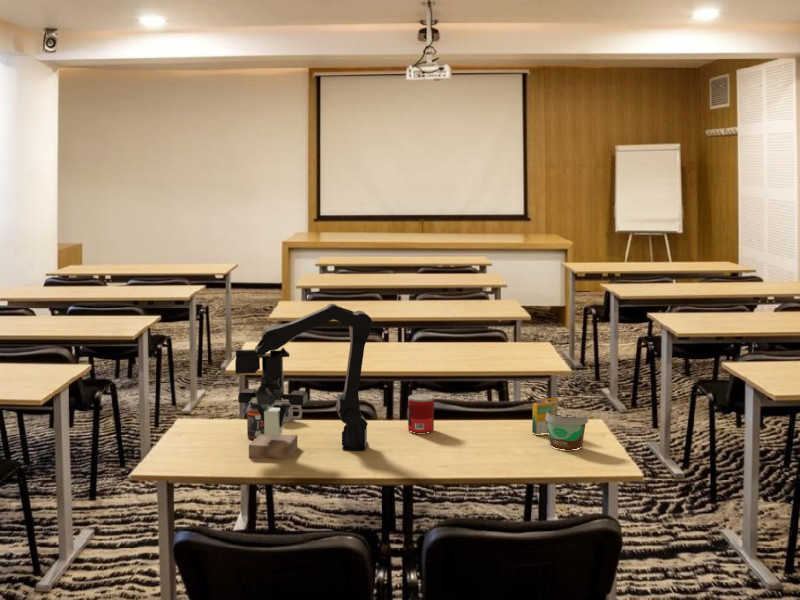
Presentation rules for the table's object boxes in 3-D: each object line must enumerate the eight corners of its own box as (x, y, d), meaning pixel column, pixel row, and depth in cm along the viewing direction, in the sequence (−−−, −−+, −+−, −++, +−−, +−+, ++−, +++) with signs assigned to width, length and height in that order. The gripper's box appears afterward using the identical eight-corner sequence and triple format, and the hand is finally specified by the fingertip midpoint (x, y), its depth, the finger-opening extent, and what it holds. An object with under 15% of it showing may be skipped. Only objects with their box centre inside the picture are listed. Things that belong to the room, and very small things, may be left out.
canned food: (438, 432, 242) (439, 397, 241) (417, 436, 238) (417, 401, 236) (424, 426, 249) (424, 392, 247) (403, 430, 244) (403, 395, 243)
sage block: (282, 431, 223) (282, 408, 222) (278, 436, 219) (277, 411, 218) (268, 431, 223) (268, 407, 222) (264, 435, 219) (264, 411, 219)
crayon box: (552, 431, 244) (553, 395, 242) (557, 434, 241) (558, 397, 239) (531, 433, 241) (532, 397, 240) (536, 436, 238) (537, 399, 237)
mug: (268, 423, 251) (268, 402, 250) (276, 417, 257) (276, 397, 256) (298, 425, 249) (298, 404, 248) (305, 419, 255) (305, 399, 254)
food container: (541, 449, 226) (542, 416, 225) (544, 443, 232) (545, 410, 230) (584, 454, 222) (585, 420, 220) (587, 448, 227) (588, 414, 226)
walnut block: (297, 448, 227) (297, 435, 226) (287, 460, 216) (287, 446, 215) (260, 446, 228) (260, 433, 227) (248, 459, 217) (248, 445, 217)
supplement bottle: (263, 440, 232) (262, 403, 231) (244, 439, 234) (243, 402, 232) (270, 434, 238) (269, 398, 237) (252, 433, 239) (251, 397, 238)
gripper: (230, 377, 212) (231, 433, 214) (297, 380, 210) (298, 436, 212) (244, 369, 223) (245, 422, 225) (307, 371, 221) (308, 425, 223)
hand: (273, 426), depth 221 cm, fingers closed on sage block, 4 cm apart
